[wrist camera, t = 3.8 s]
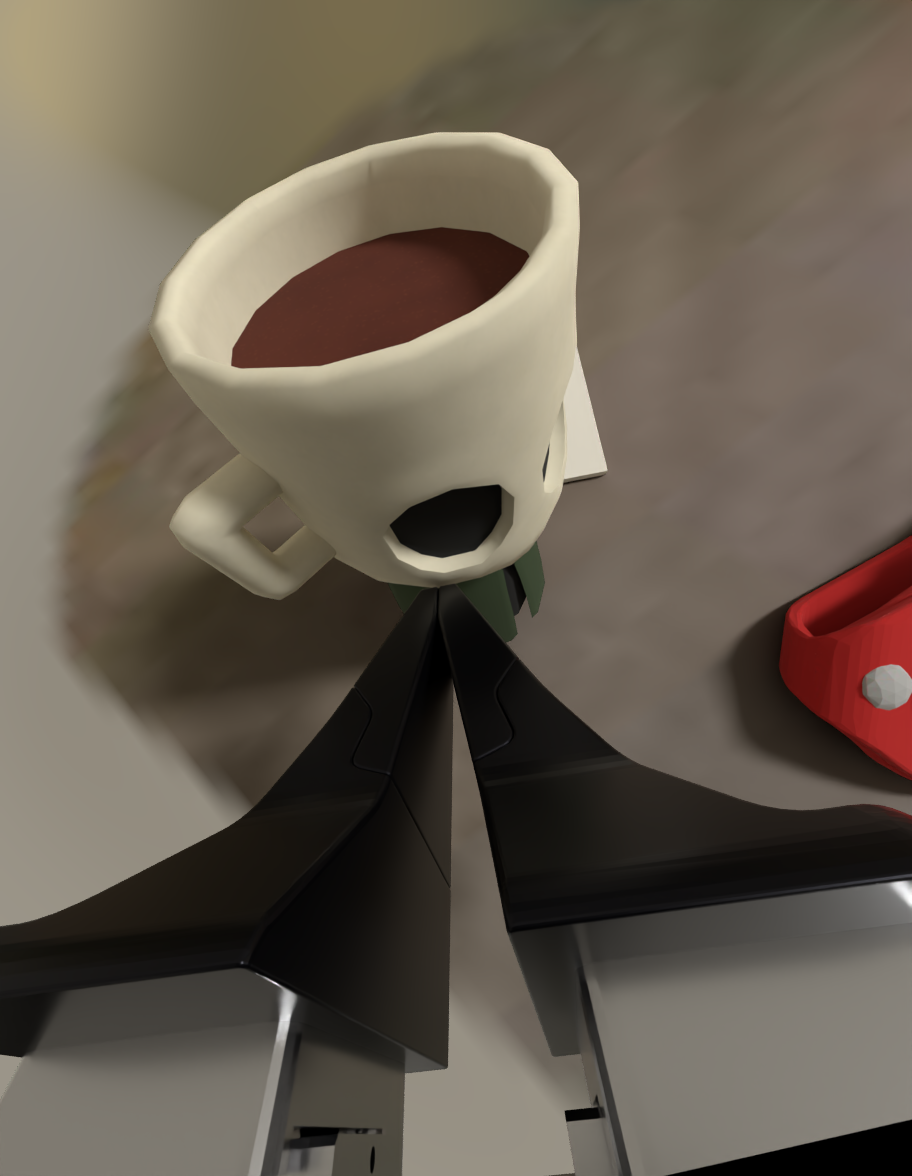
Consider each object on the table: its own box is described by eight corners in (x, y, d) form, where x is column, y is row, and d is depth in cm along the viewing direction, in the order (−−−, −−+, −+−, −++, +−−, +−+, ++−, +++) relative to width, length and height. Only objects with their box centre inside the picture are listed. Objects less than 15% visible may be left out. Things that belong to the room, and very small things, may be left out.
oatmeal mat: (605, 474, 19) (607, 470, 19) (321, 529, 20) (317, 526, 20) (538, 206, 22) (539, 198, 22) (295, 266, 23) (291, 259, 23)
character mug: (441, 742, 15) (142, 619, 4) (333, 626, 18) (-16, 360, 7) (616, 547, 17) (771, 87, 6) (494, 472, 20) (438, 70, 9)
